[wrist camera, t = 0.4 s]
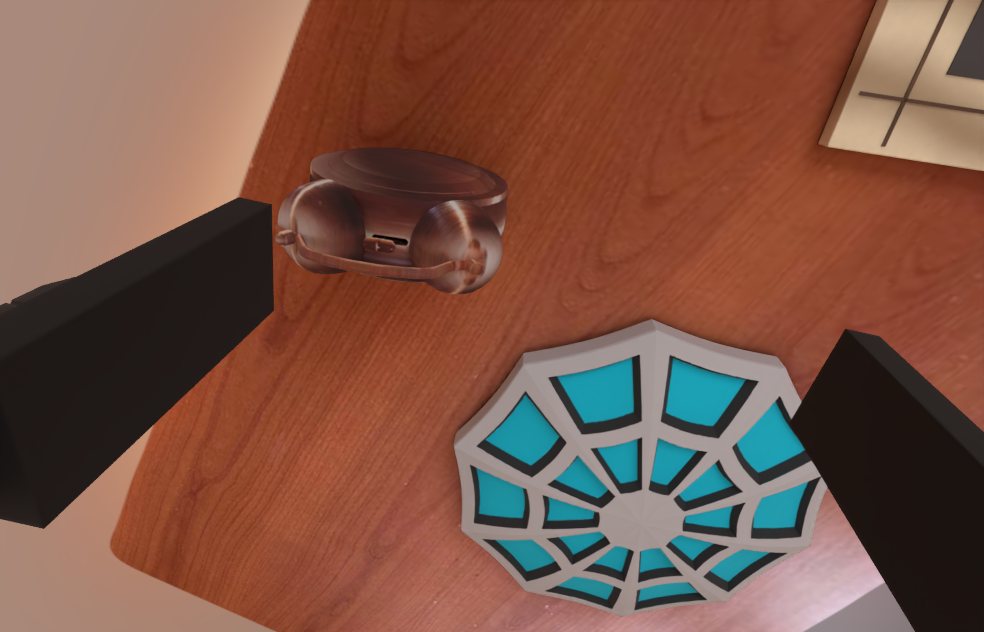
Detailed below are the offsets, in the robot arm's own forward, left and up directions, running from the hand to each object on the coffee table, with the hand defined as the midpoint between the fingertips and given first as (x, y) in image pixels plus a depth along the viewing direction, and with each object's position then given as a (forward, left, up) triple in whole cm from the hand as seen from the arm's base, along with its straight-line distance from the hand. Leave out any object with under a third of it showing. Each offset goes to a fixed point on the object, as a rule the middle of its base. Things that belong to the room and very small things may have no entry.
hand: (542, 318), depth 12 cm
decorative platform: (+25, +12, -23) cm, 36 cm away
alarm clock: (+3, -7, -24) cm, 25 cm away
